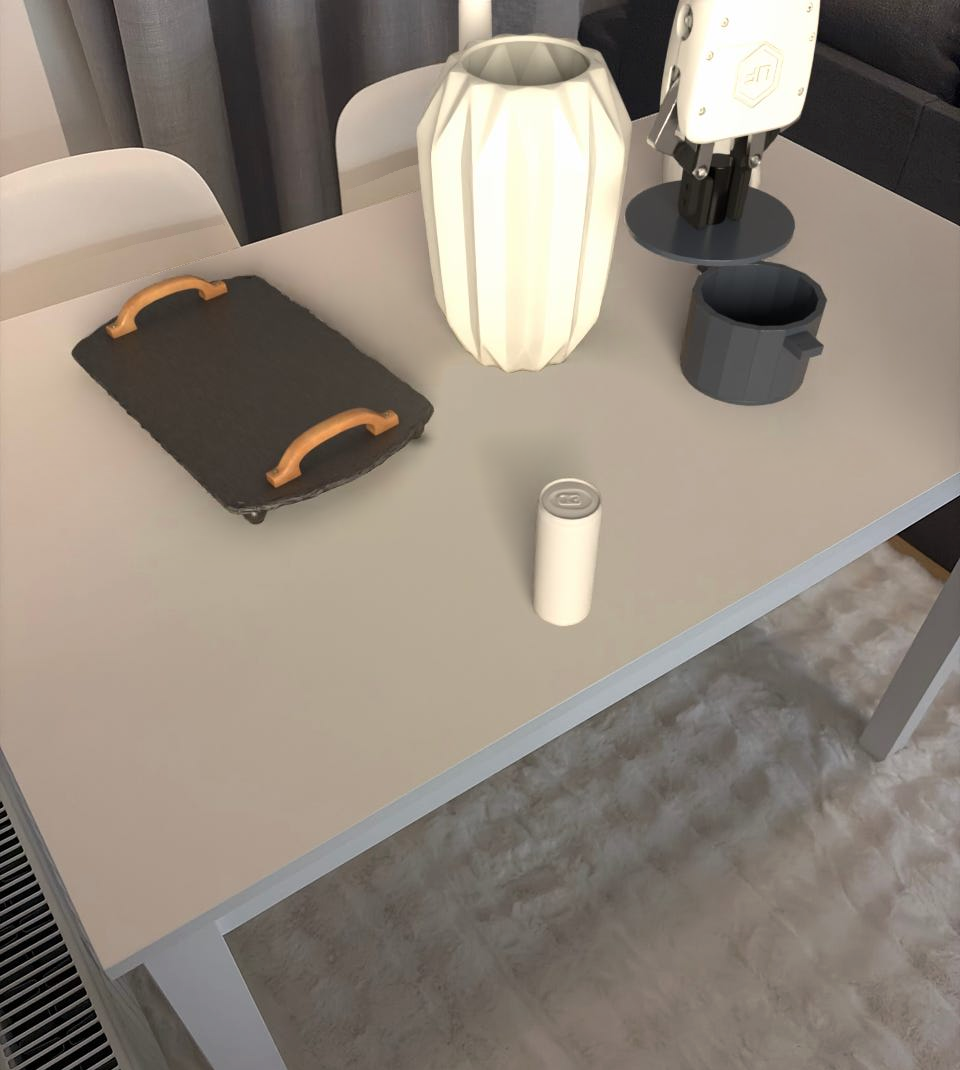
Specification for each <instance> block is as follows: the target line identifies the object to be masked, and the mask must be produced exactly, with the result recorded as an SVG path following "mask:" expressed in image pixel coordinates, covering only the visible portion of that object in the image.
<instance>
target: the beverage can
mask: <svg viewBox="0 0 960 1070" xmlns="http://www.w3.org/2000/svg"><path fill="white" fill-rule="evenodd" d="M603 509H604V505H603V497H602V494H601V492H600V490H599V489H598V488H597V487H596V486H595V485H593V483H591V482H589V481H587V480H585V479H581V478H577V477H561V478H557V479H555V480H552V481H550V482H548V483H547V484H546V485H544V486H543V487H542V488H541V491H540V492H539V497H538V499H537V502H536V513H535V515H536V516H535V535H534V537H535V538H534V556H533V557H534V558H533V559H534V560H533V579H532V580H533V582H532V601H531V602H532V607H533V610H534V611H535V614H536V615H537V616H538V617H540V618H541V619H542V620H543V621H545V622H547V623H549V624H551V625H554V626H558V627H571V626H573V625H577V624H579V623H580V622H582V621H583V620H585V619H586V618H587V616H588V615H589V614H590V612H591V611H592V610H591V609H592V603H593V595H594V586H595V579H596V578H595V577H596V569H597V562H598V552H599V545H600V536H601V527H602V519H603Z"/></svg>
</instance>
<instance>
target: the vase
mask: <svg viewBox="0 0 960 1070" xmlns="http://www.w3.org/2000/svg"><path fill="white" fill-rule="evenodd" d="M632 131H633V122H632V120H631V118H630V115H629V112H628V110H627V107H626V105H625V102H624V101H623V98H622V96H621V94H620V91H619V89H618V86H617V85H616V82H615V80H614V78H613V76H612V73H611V70H610V68H609V67H608V64H607V62H606V60H605V58H604V56H603V54H602V53H601V51H599V50H597V49H594V48H591V47H587V46H583V45H582V44H581V43H580V41H579V40H578V39H576V38H571V37H554V36H551V35H550V34H546V33H544V32H533V33H527V34H514V33H501V34H496V35H495V36H492V38H491V39H487V40H476V41H471V42H468V43H467V45H466V46H465V48H464V49H463V50H461V51H459V50H458V51H456V52H453V53H451V54H450V55H449V56H448V57H447V59H446V61H445V63H444V64H443V67H442V69H441V71H440V74H439V75H438V78H437V80H436V82H435V85H434V86H433V89H432V91H431V94H430V96H429V98H428V101H427V103H426V105H425V107H424V110H423V112H422V115H421V117H420V119H419V122H418V124H417V127H416V146H417V147H416V148H417V159H418V160H417V161H418V171H419V183H420V190H421V191H420V192H421V199H422V207H423V215H424V216H423V217H424V223H425V224H424V225H425V232H426V233H425V234H426V241H427V247H428V248H427V249H428V256H429V257H428V258H429V264H430V268H431V269H430V270H431V271H430V272H431V275H432V284H433V290H434V297H435V301H436V303H437V304H438V306H439V307H438V308H440V310H441V312H442V313H443V315H444V317H445V319H446V321H447V324H448V327H449V328H450V330H451V331H452V333H453V334H454V336H455V338H456V339H457V340H458V342H459V344H461V346H462V348H463V349H464V350H465V351H466V352H467V353H469V354H471V355H472V356H473V357H474V359H475V360H476V361H477V362H478V363H479V364H480V365H482V366H484V367H495V368H499V369H500V370H501V371H503V372H505V373H508V374H511V373H515V372H519V371H526V372H531V373H537V372H538V373H539V372H540V371H542V370H543V369H544V368H545V367H547V366H551V365H559V364H561V363H563V362H564V361H566V359H567V358H568V357H569V356H570V355H571V354H572V353H573V351H574V350H575V348H576V347H577V346H578V345H579V344H580V342H581V341H582V340H583V339H584V337H585V336H586V335H587V334H588V333H589V331H590V330H591V329H592V328H593V327H594V325H595V324H596V323H597V321H598V320H599V315H600V311H601V306H602V301H603V300H604V297H605V294H606V290H607V284H608V280H609V276H610V270H611V266H612V265H611V264H612V259H613V255H614V250H615V249H614V248H615V242H616V238H617V237H616V236H617V230H618V227H619V226H618V225H619V220H620V213H621V209H622V201H623V195H624V191H625V184H626V177H627V172H628V171H627V170H628V163H629V156H630V147H631V142H632V141H631V140H632V133H633V132H632Z"/></svg>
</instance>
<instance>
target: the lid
mask: <svg viewBox="0 0 960 1070" xmlns="http://www.w3.org/2000/svg"><path fill="white" fill-rule="evenodd" d="M735 165H736V160H735V158H733V157H732V156H730V155H727V154H722V153H713V155H712V159H711V164H710V168H709V172H708V174H707V175H708V176H710V177H711V178H712V179H713V187H712V193H711V199H710V204H709V210H708V216H707V222H706V225H705V226H704V228H702V229H698V230H696V229H695V228H694V227H693V226H692V225H690V224H689V223H688V222H687V221H686V220H685V219H683V218H682V217H681V216H680V215H679V209H678V199H679V192H680V185H681V180H678V181H672V182H667V183H663V184H662V183H660V184H659V183H658V184H656V185H653V186H650V187H648V188H646V189H644V190H642V191H641V192H639V193H637V194H636V195H635V196H634V197H633V198H632V199H631V200H630V201H629V202H628V203H627V206H626V208H625V210H624V218H623V222H624V227H625V229H626V231H627V233H628V235H629V236H630V237H631V238H632V240H634V242H636V243H637V244H638V245H640V246H641V248H643V249H645V250H646V251H649V252H651V253H653V254H654V255H657V256H660V257H663V258H665V259H668V260H670V261H671V260H672V261H675V262H678V263H679V262H680V263H683V264H689V265H695V266H697V265H702V266H736V265H744V264H749V263H754V262H757V261H765V260H766V259H769V258H772V257H773V256H775V255H777V254H779V253H780V252H782V251H783V250H784V249H785V248H786V247H787V246H788V245H789V244H790V243H791V242H792V239H793V237H794V234H795V229H796V221H795V218H794V215H793V213H792V211H791V210H790V209H789V208H788V207H787V206H786V204H784V203H783V202H782V201H781V200H779V199H778V198H777V197H775V196H774V195H771V194H769V192H765V191H763V190H762V189H761V190H760V189H759V188H758V189H756V188H753V187H750V186H749V188H748V193H747V198H746V201H745V204H744V209H743V214H742V218H741V219H740V220H736V221H733V220H731V219H730V218H729V217H728V216H726V213H727V208H728V203H729V197H730V192H731V187H732V181H733V176H734V171H735Z"/></svg>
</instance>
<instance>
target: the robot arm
mask: <svg viewBox="0 0 960 1070" xmlns="http://www.w3.org/2000/svg"><path fill="white" fill-rule="evenodd" d="M820 8H821V0H678V3H677V6H676V11H675V14H674V18H673V23H672V27H671V31H670V36H669V40H668V46H667V51H666V57H665V63H664V68H663V75H662V82H661V89H660V99H659V100H660V101H659V111H658V113H657V115H656V117H655V119H654V121H653V123H652V125H651V127H650V130H649V131H648V133H647V136H646V143H647V144H648V145H649V146H650V147H652V148H653V149H654V150H656V152H659V153H662V154H663V153H664V154H667V155H669V156H673V158H674V159H675V160H676V161H677V163H678V164H679V165H680V166H681V167H682V168H683V172H682V179H681V185H680V192H679V199H678V209H679V215H680V216H681V217H682V218H683V219H685V220H686V221H687V222H688V223H689V224H690V225H692V226H693V227H694V228H695V229H696V230H698V229H702V228H704V226H705V225H706V222H707V216H708V210H709V204H710V199H711V193H712V187H713V179H712V178H711V177H710V176H708V175H707V174H708V172H709V168H710V164H711V159H712V155H713V150H714V146H715V142H718V141H723V140H727V139H731V141H730V156H732V157H733V158H735V160H736V165H735V171H734V176H733V181H732V187H731V192H730V197H729V203H728V208H727V213H726V216H728V217H729V218H730V219H731V220H733V221H736V220H740V219H741V218H742V214H743V209H744V204H745V201H746V198H747V193H748V188H749V185H750V178H751V173H752V168H756V167H757V166H758V165H761V163H762V160H763V157H764V153H765V152H766V150H767V149H768V148H769V147H770V146H771V144H772V143H773V142H774V141H775V140H776V139H777V138H778V136H779V134H782V133H783V132H784V131H786V130H787V129H788V128H789V127H791V126H793V125H794V124H795V123H797V122H798V121H799V120H800V119H801V116H802V111H803V109H804V105H805V102H806V98H807V93H808V89H809V84H810V79H811V74H812V68H813V62H814V57H815V56H814V55H815V49H816V43H817V42H816V41H817V36H818V28H819V20H820V19H819V18H820ZM678 125H679V129H680V132H681V134H682V136H681V138H680V137H678V136H676V135H675V131H676V128H677V126H678ZM696 146H697V148H696ZM695 151H696V152H695ZM727 155H729V154H727Z"/></svg>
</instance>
